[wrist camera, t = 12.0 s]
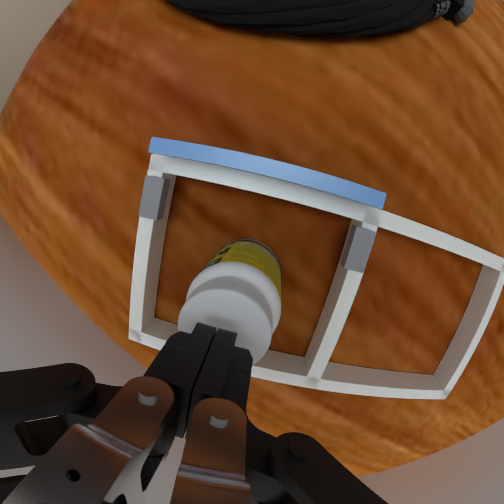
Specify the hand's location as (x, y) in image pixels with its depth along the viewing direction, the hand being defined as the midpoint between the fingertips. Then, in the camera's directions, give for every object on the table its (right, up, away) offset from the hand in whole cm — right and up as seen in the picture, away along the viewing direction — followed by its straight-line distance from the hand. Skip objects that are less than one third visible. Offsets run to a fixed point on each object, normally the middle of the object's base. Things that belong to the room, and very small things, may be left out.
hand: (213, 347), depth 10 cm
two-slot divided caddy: (+7, +1, +9) cm, 12 cm away
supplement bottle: (+1, +2, +10) cm, 10 cm away
